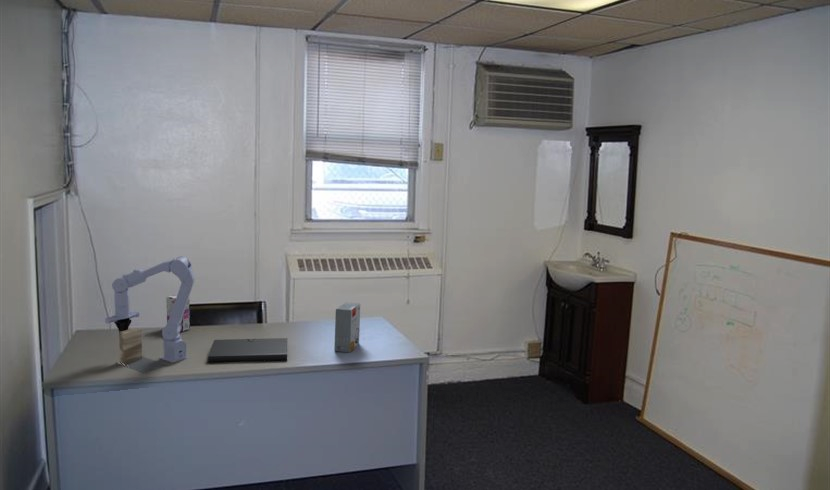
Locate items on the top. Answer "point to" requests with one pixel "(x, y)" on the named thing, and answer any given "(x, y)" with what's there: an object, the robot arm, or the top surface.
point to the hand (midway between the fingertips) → (123, 336)
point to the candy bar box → (186, 316)
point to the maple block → (130, 345)
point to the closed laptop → (248, 350)
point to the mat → (145, 364)
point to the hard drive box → (347, 327)
